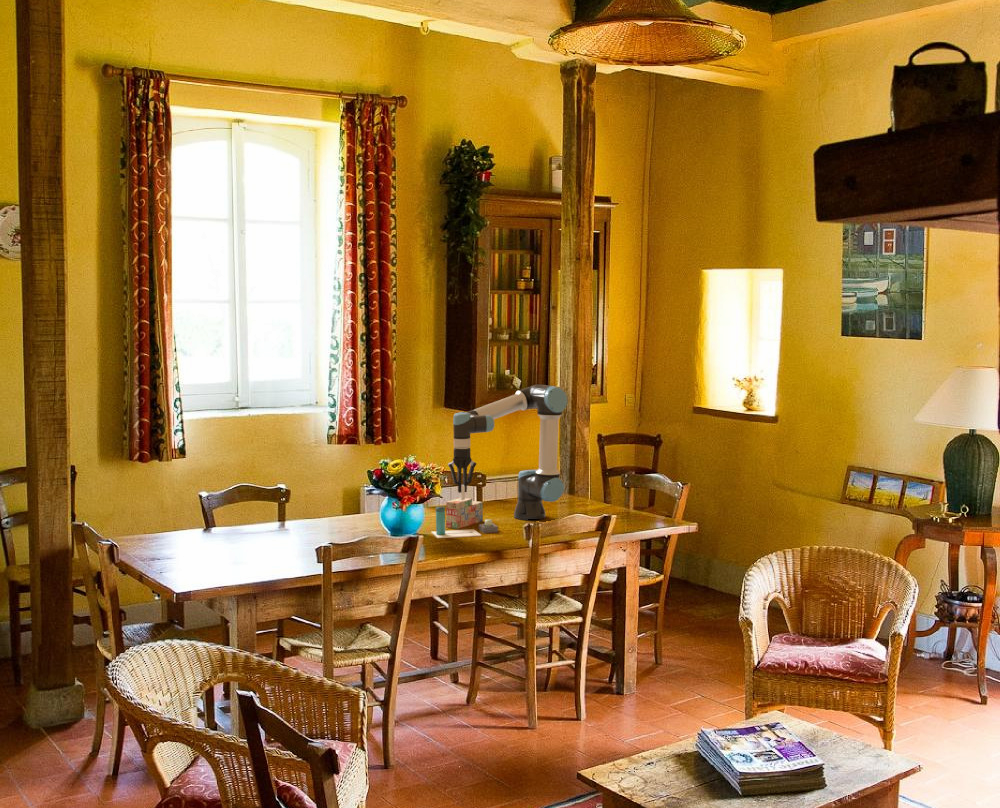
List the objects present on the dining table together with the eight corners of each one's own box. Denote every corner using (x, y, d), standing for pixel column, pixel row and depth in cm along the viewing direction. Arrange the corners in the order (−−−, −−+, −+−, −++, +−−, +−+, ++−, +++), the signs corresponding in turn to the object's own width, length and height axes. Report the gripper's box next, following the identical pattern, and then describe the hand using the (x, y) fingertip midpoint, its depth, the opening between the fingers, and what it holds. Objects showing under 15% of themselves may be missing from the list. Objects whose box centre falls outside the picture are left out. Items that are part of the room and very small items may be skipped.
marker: (444, 532, 496) (443, 506, 495) (446, 534, 492) (445, 508, 491) (435, 533, 495) (434, 507, 494) (437, 535, 491) (436, 508, 490)
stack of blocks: (471, 519, 528) (472, 494, 527) (482, 521, 525) (483, 495, 523) (445, 527, 510) (446, 501, 509) (456, 529, 507) (457, 502, 505)
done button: (490, 526, 506) (491, 519, 505) (493, 528, 502) (493, 520, 502) (483, 527, 505) (483, 519, 504) (485, 528, 501) (486, 521, 501)
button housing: (493, 528, 508) (493, 523, 508) (498, 532, 501) (498, 526, 501) (478, 529, 506) (478, 524, 506) (483, 532, 499) (483, 527, 499)
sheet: (473, 530, 505) (473, 529, 505) (481, 535, 493) (481, 534, 493) (431, 532, 499) (431, 531, 499) (437, 538, 487) (437, 537, 487)
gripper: (473, 445, 499) (474, 497, 502) (445, 446, 496) (446, 498, 498) (478, 448, 492) (478, 500, 495) (449, 449, 488) (450, 502, 491)
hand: (462, 499), depth 497 cm, fingers closed
